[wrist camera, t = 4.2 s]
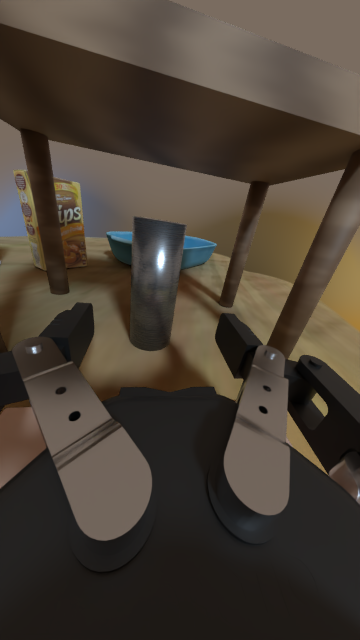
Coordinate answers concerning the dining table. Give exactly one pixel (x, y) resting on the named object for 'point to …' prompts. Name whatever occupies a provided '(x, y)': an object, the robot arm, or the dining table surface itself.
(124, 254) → the casserole dish
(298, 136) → the low stand
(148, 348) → the metal canister
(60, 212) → the candy box
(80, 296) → the dining table surface
